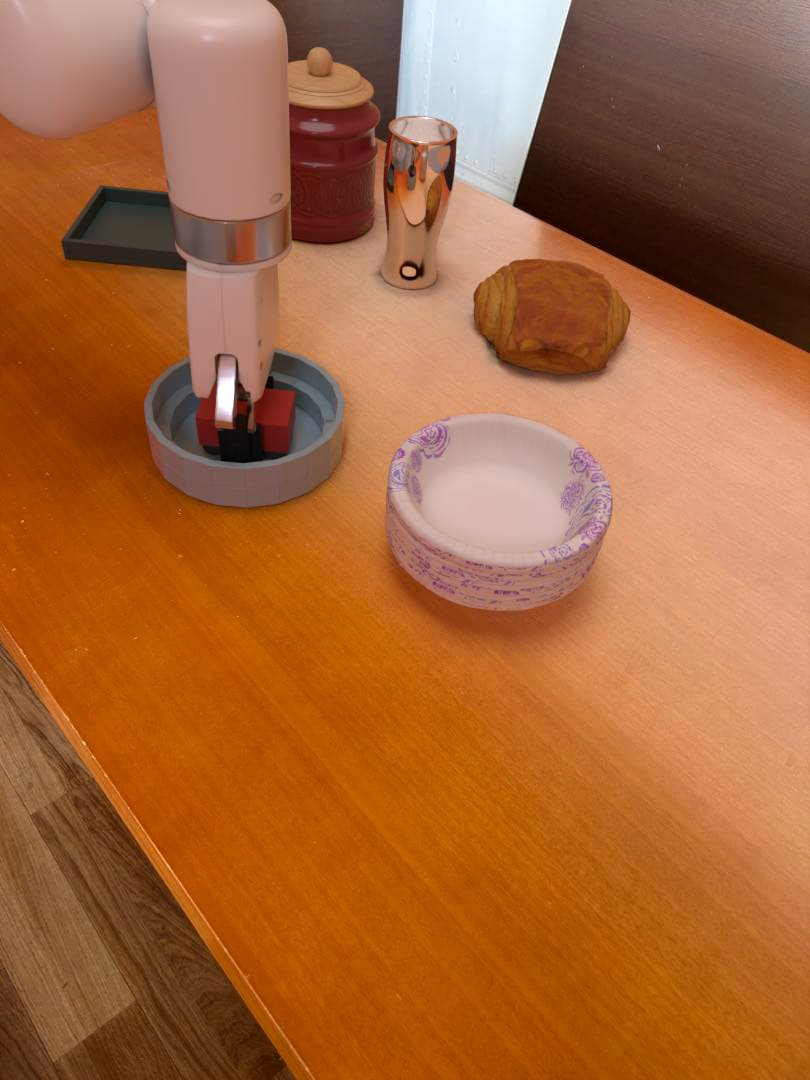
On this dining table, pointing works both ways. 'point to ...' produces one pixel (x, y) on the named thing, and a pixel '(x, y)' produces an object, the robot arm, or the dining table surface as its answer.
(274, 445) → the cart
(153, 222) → the tray
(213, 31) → the robot arm
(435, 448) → the paper bowls
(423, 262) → the beer glass
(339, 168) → the kitchen canister
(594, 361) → the croissant
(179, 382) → the bowl
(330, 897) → the dining table surface
